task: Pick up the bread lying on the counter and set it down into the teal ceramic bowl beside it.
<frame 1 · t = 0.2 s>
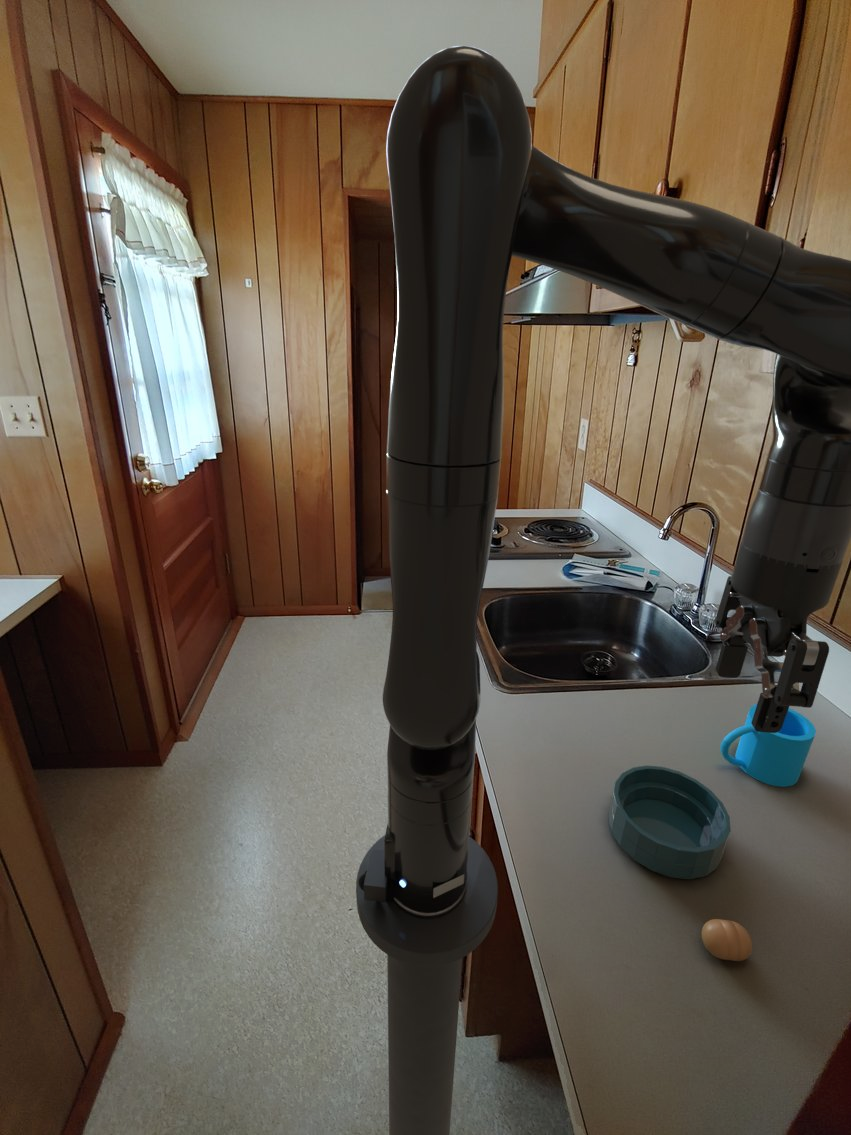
hand: (744, 700, 53), 25 cm above the worktop, tool pointing down, fingers open, 8 cm apart
mug: (753, 767, 81), on the worktop
bowl: (662, 834, 69), on the worktop
bread: (722, 950, 56), on the worktop
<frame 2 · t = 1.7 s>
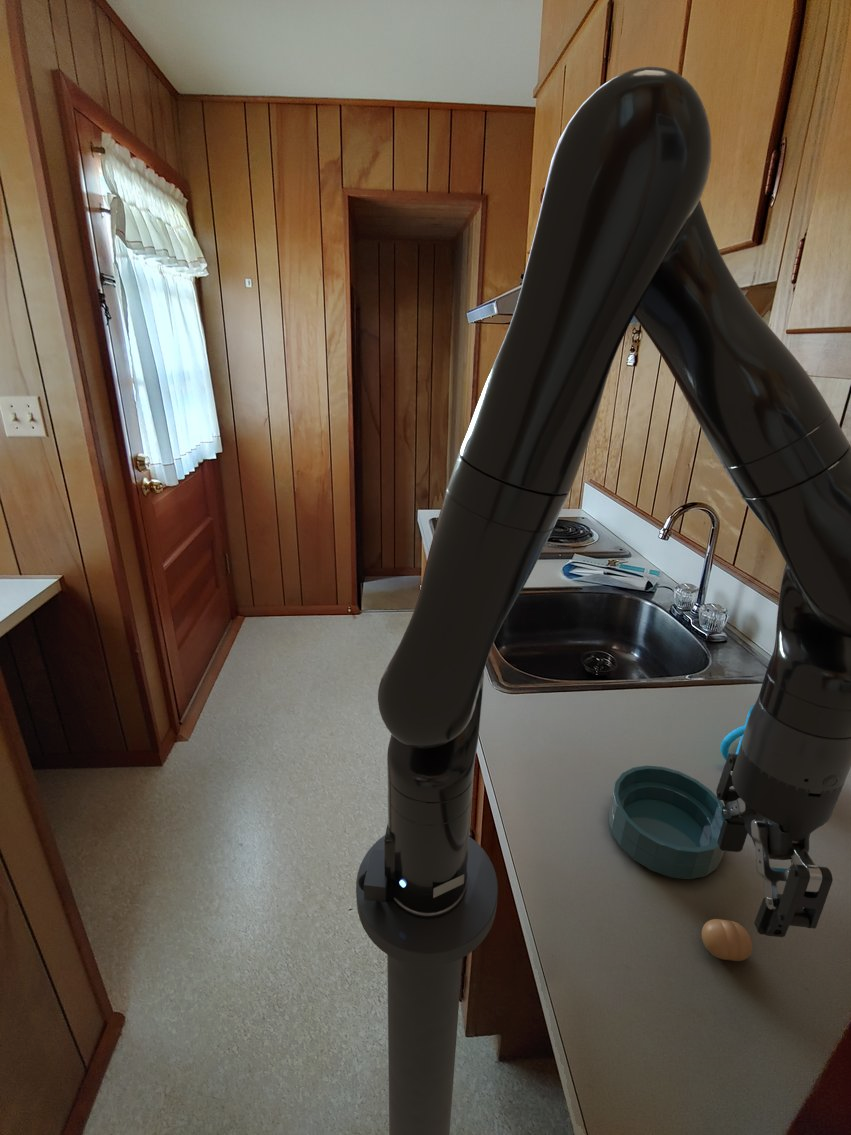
hand: (746, 887, 53), 9 cm above the worktop, tool pointing down, fingers open, 8 cm apart
nothing on the worktop moved.
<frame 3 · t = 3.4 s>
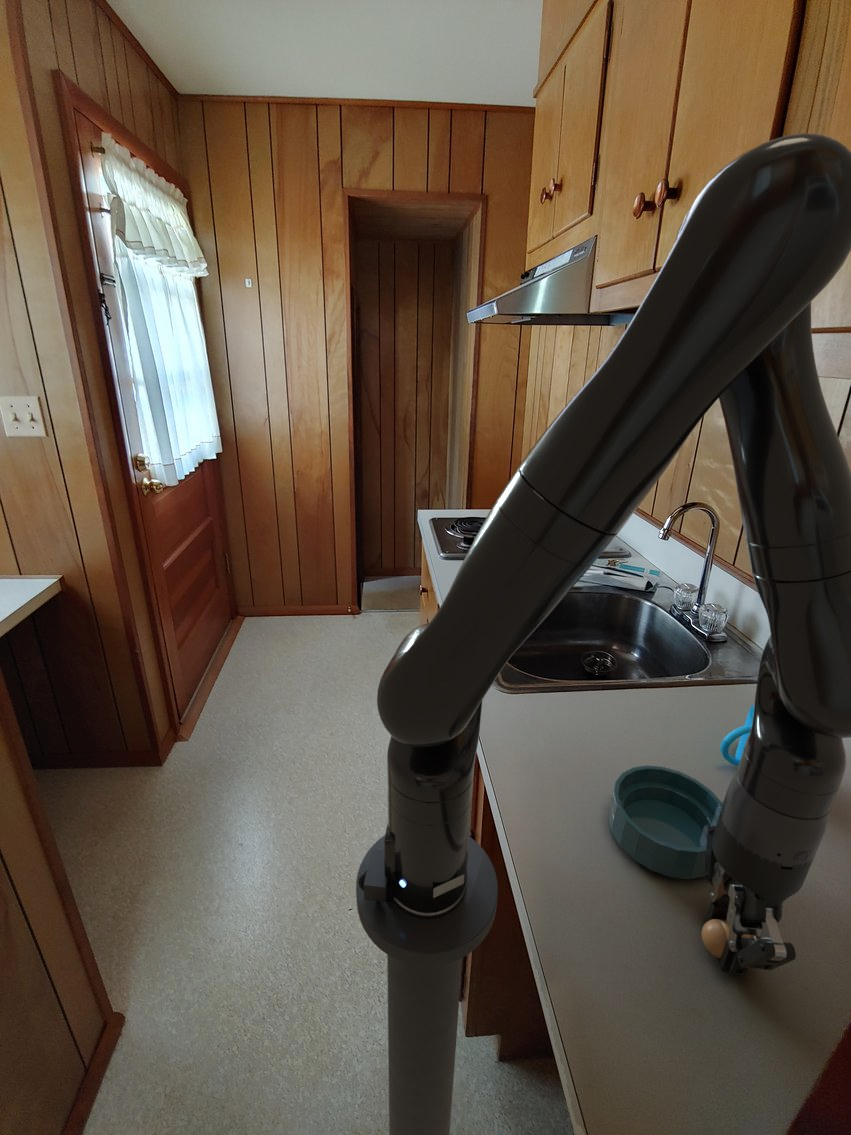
hand: (723, 948, 56), 0 cm above the worktop, tool pointing down, fingers closed on bread, 3 cm apart
bread: (722, 950, 56), on the worktop, touching gripper
everything else where it was.
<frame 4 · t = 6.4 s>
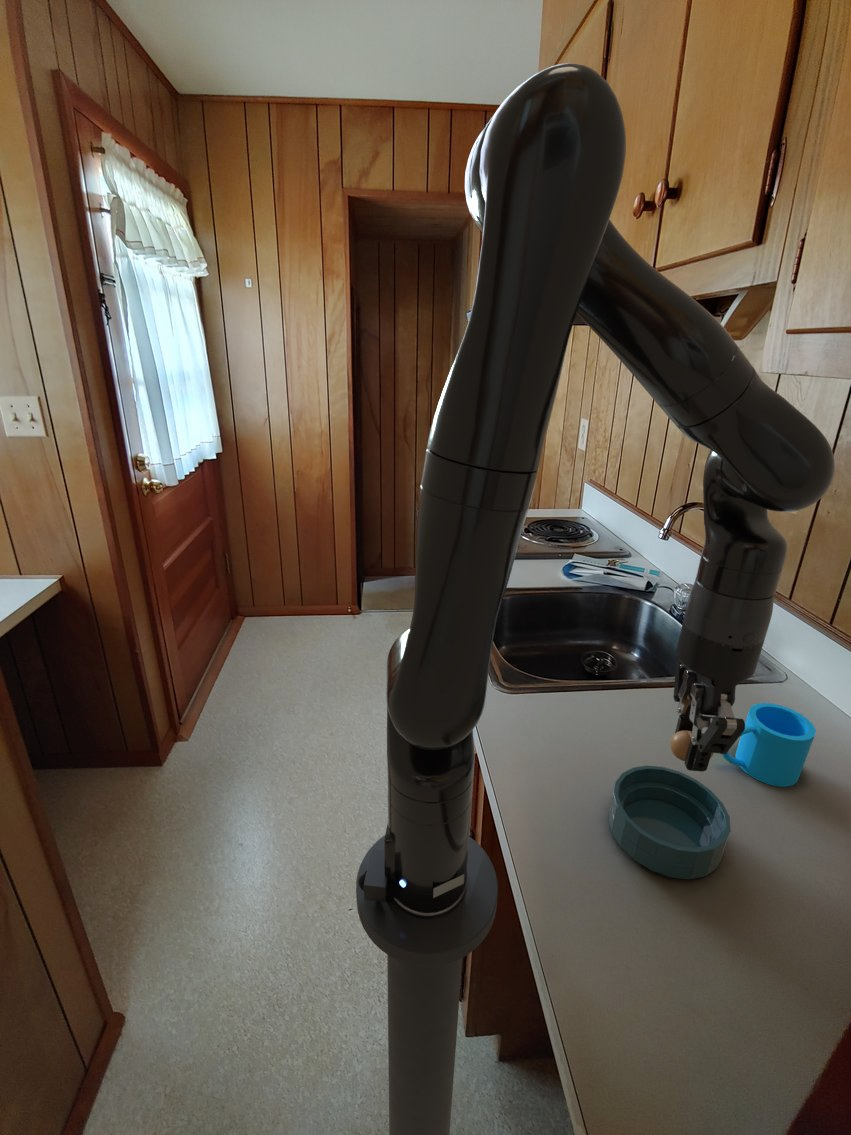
hand: (689, 755, 63), 14 cm above the worktop, tool pointing down, fingers closed on bread, 3 cm apart
bread: (688, 758, 63), point 13 cm above the worktop, touching gripper
everything else where it was.
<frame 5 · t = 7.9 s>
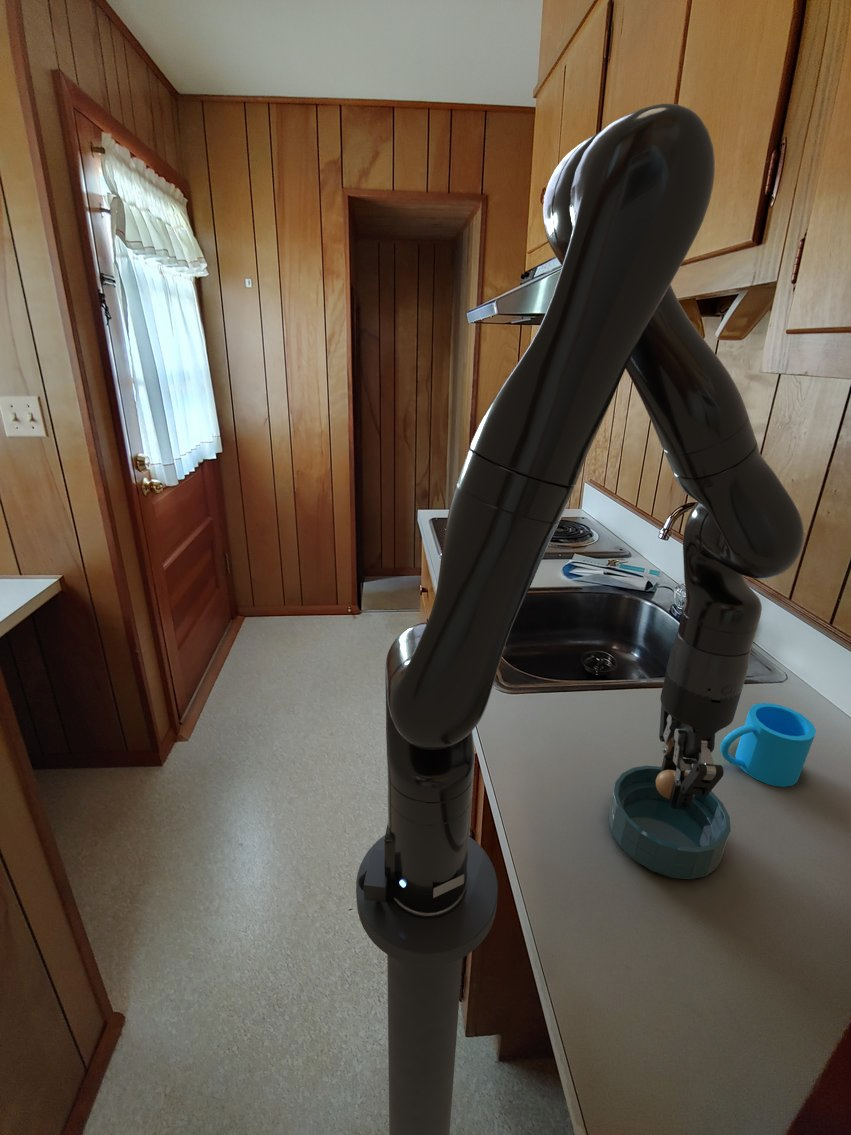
hand: (673, 793, 67), 7 cm above the worktop, tool pointing down, fingers closed on bread, 3 cm apart
bread: (673, 795, 67), point 6 cm above the worktop, touching gripper
everything else where it was.
when the fingers open (3 cm above the worktop, at t = 9.5 s): bread drops 2 cm, resting on bowl.
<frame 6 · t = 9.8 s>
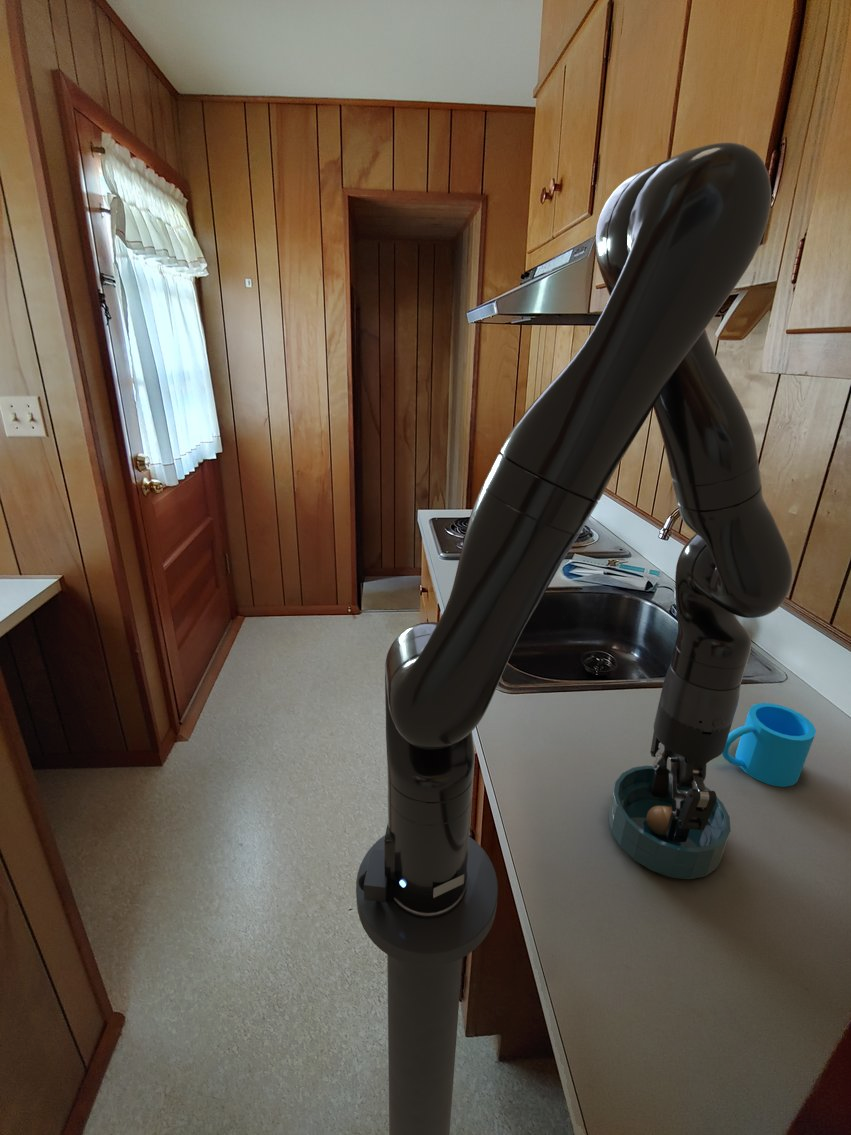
hand: (667, 816, 68), 3 cm above the worktop, tool pointing down, fingers open, 6 cm apart
bread: (663, 830, 69), point 1 cm above the worktop, touching bowl
everything else where it was.
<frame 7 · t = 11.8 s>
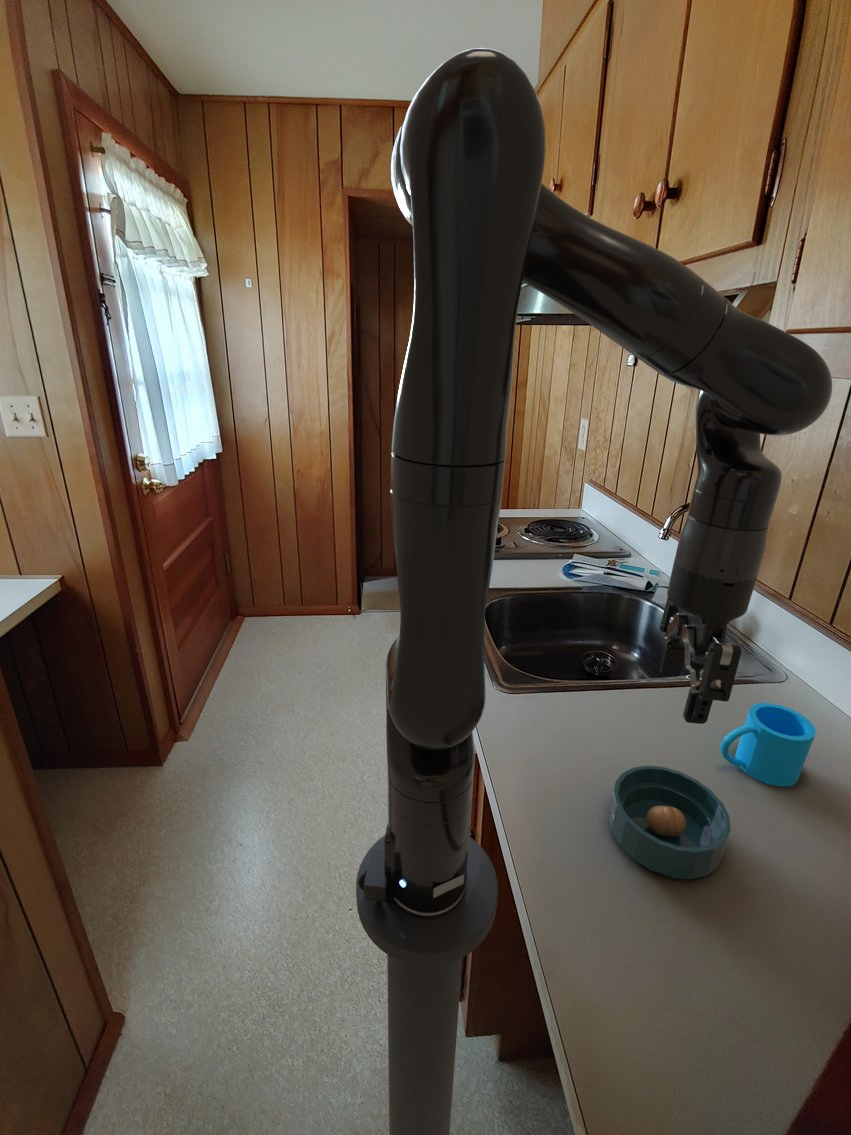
hand: (680, 696, 61), 21 cm above the worktop, tool pointing down, fingers open, 8 cm apart
nothing on the worktop moved.
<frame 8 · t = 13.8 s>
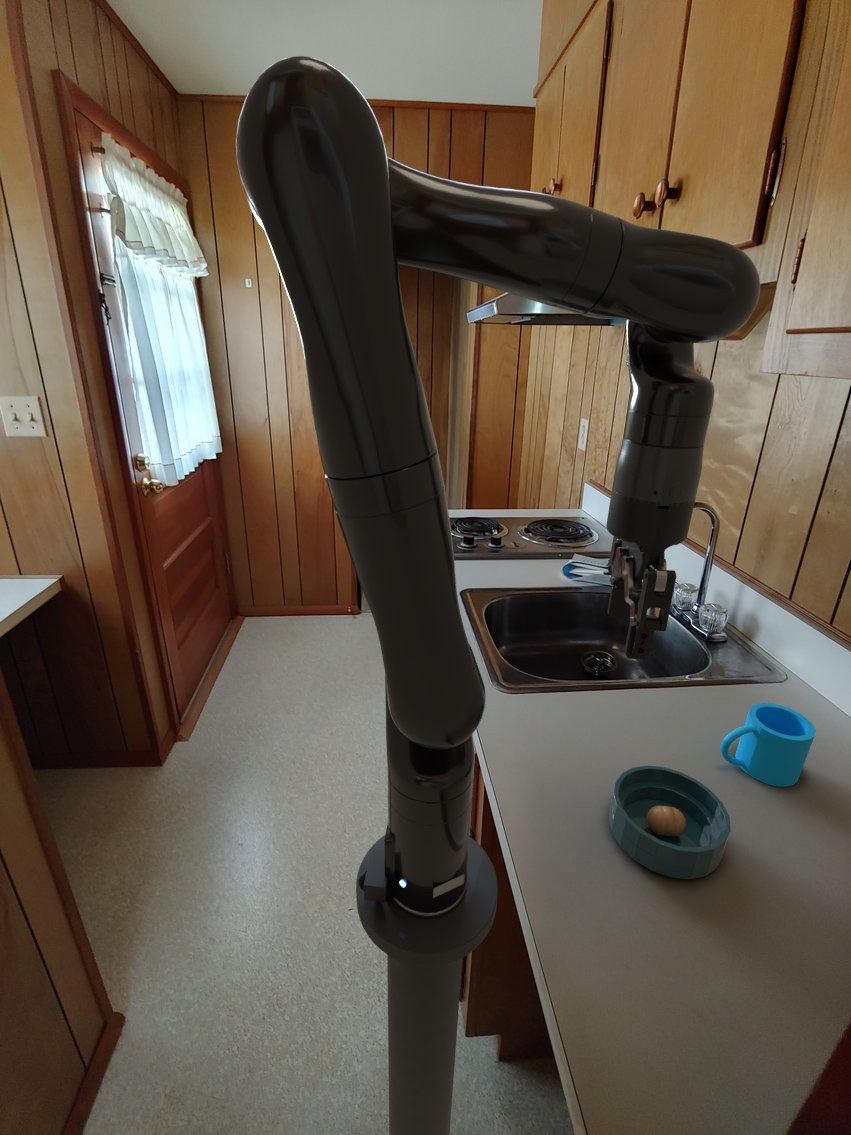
hand: (625, 635, 59), 28 cm above the worktop, tool pointing down, fingers open, 8 cm apart
nothing on the worktop moved.
at the end: bread inside the target area in the bowl (0.0 cm from its centre), point 0.6 cm above the bowl's base; the gripper is holding nothing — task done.
